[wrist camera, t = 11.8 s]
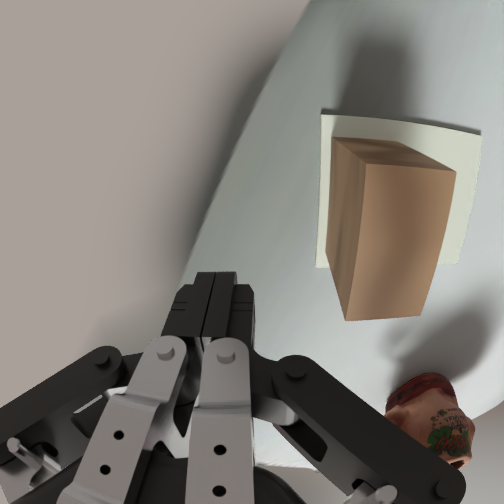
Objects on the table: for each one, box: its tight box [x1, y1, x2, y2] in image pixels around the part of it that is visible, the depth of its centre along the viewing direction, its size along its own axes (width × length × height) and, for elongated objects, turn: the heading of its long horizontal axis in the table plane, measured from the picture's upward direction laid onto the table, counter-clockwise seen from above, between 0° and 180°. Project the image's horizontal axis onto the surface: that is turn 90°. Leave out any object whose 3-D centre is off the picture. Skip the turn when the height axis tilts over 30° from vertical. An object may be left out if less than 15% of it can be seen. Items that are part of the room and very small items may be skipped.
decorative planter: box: [384, 373, 475, 470], centre depth 28 cm, size 20×12×14 cm, turn 70°
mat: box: [315, 114, 483, 268], centre depth 21 cm, size 14×12×1 cm
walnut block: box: [325, 137, 457, 321], centre depth 18 cm, size 5×9×8 cm, turn 2°
